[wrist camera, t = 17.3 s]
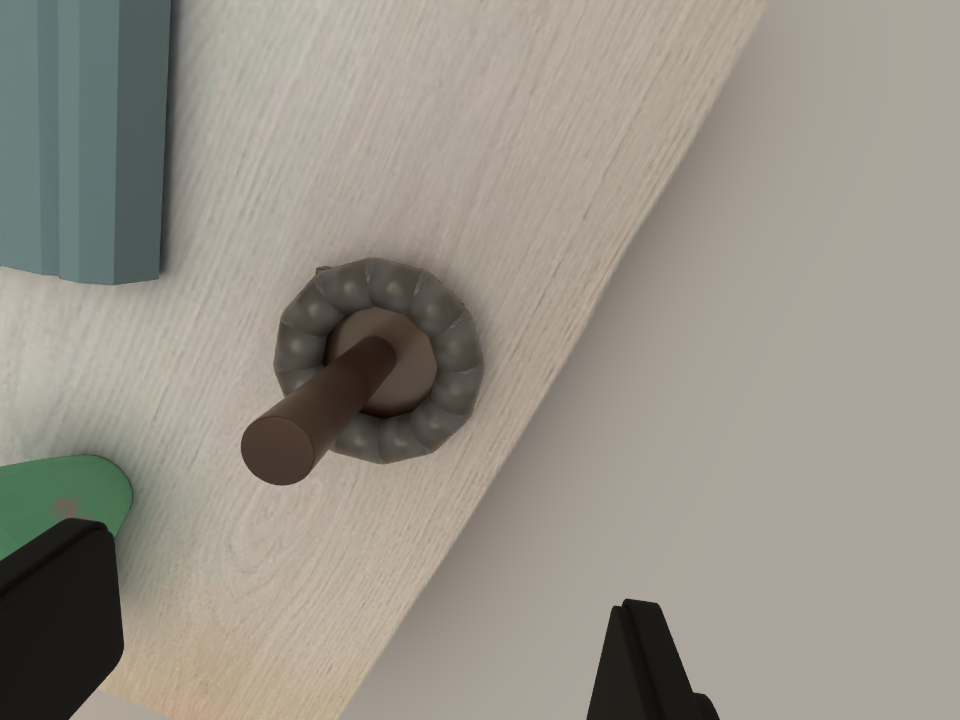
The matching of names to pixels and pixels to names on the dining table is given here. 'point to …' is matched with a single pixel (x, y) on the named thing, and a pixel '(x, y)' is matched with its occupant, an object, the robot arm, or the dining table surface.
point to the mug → (59, 496)
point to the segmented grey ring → (428, 311)
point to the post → (342, 393)
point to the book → (83, 137)
